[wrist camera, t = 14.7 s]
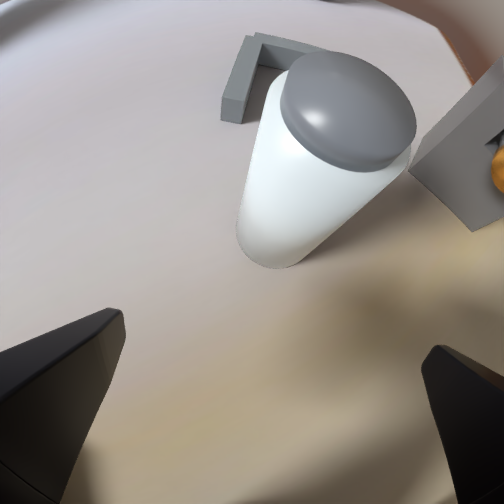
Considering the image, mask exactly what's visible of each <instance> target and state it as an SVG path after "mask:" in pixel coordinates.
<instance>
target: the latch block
mask: <svg viewBox="0 0 504 504" xmlns="http://www.w3.org/2000/svg"><path fill="white" fill-rule="evenodd" d="M503 129H504V56H502V55H501V56H500V58H499V59H498V60H497V61H496V62H495V63H494V64H493V65H492V66H491V67H490V69H489V70H488V71H487V72H486V73H485V74H484V75H483V76H482V77H481V78H480V79H479V80H478V81H477V82H476V84H475V85H474V86H473V87H472V88H471V89H470V90H469V91H468V92H467V93H466V94H465V95H464V96H463V97H462V98H461V99H460V100H459V101H458V102H457V103H456V105H455V106H454V107H453V108H452V109H451V110H450V111H449V112H448V113H447V114H446V115H445V116H444V117H443V118H442V119H441V120H440V121H439V122H438V123H437V124H436V125H435V126H434V127H433V128H432V129H431V130H430V131H429V132H428V133H427V134H426V135H425V136H424V137H423V139H422V141H421V144H420V146H419V148H418V150H417V153H416V155H415V157H414V159H413V161H412V164H411V166H410V168H409V170H408V171H409V172H410V173H411V174H412V175H413V176H415V177H416V178H417V179H418V180H419V181H420V182H421V183H422V184H424V185H425V186H426V187H427V188H428V189H429V190H430V191H431V192H432V193H433V194H435V195H436V196H437V197H438V198H439V199H440V200H441V201H442V202H443V203H444V204H445V205H446V206H447V207H448V208H449V209H450V210H451V211H452V212H453V213H454V214H455V215H456V216H457V217H458V218H459V219H460V220H461V221H462V222H463V223H464V224H465V225H466V226H467V227H468V228H469V229H470V230H471V231H472V232H473V231H475V230H477V229H479V228H482V227H484V226H486V225H488V224H490V223H492V222H494V221H496V220H498V219H500V218H502V217H504V193H502V192H501V191H500V190H499V189H498V188H497V186H496V185H495V183H494V181H493V179H492V175H491V165H492V159H493V155H494V153H495V151H496V150H497V149H498V148H499V143H500V132H501V131H502V130H503Z"/></svg>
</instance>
